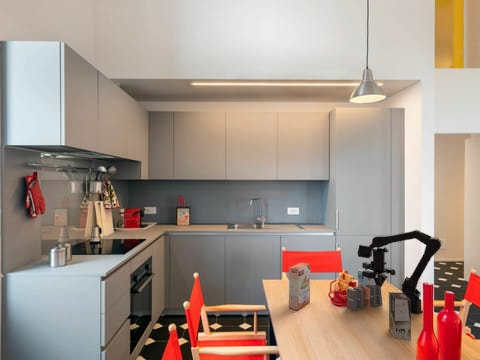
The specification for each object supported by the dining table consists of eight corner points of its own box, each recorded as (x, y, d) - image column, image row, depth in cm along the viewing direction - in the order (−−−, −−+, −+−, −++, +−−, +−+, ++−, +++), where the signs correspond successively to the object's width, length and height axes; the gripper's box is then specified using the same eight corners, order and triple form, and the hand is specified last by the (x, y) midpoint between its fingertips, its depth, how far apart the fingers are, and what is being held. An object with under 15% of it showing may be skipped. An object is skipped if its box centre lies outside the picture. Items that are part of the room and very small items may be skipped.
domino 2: (363, 309, 155) (363, 289, 155) (361, 310, 154) (360, 290, 155) (356, 305, 160) (355, 286, 160) (353, 306, 159) (353, 287, 159)
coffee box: (411, 340, 124) (411, 300, 124) (394, 338, 125) (394, 298, 126) (404, 329, 133) (404, 292, 133) (388, 328, 134) (388, 291, 135)
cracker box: (299, 311, 153) (299, 269, 153) (288, 308, 156) (288, 267, 157) (310, 302, 164) (310, 263, 164) (300, 300, 167) (300, 261, 168)
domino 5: (382, 304, 161) (380, 286, 160) (380, 305, 160) (378, 286, 160) (374, 301, 165) (372, 283, 165) (372, 302, 165) (370, 284, 164)
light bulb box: (357, 286, 190) (357, 269, 191) (365, 285, 193) (365, 268, 194) (371, 292, 181) (371, 273, 181) (379, 290, 184) (379, 272, 184)
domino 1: (356, 310, 153) (356, 290, 153) (354, 311, 152) (354, 291, 153) (349, 307, 158) (349, 287, 158) (346, 307, 157) (346, 288, 157)
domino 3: (370, 308, 157) (370, 288, 157) (367, 308, 156) (367, 288, 156) (362, 304, 161) (362, 285, 162) (360, 305, 161) (359, 286, 161)
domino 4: (376, 306, 159) (376, 287, 159) (374, 307, 158) (373, 287, 158) (368, 303, 163) (368, 284, 164) (366, 303, 163) (366, 284, 163)
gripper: (379, 255, 175) (379, 282, 174) (354, 257, 167) (354, 286, 167) (396, 259, 165) (396, 288, 164) (370, 262, 157) (370, 293, 157)
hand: (378, 289), depth 163 cm, fingers closed
